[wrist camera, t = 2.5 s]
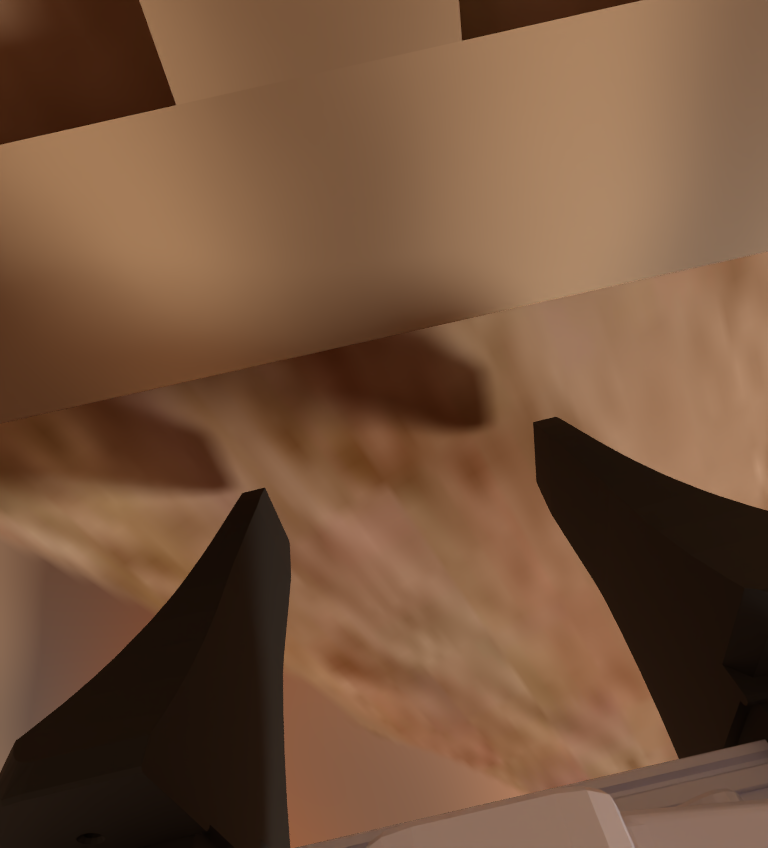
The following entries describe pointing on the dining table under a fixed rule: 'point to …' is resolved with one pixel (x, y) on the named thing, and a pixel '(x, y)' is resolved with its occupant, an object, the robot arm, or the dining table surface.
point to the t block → (372, 184)
